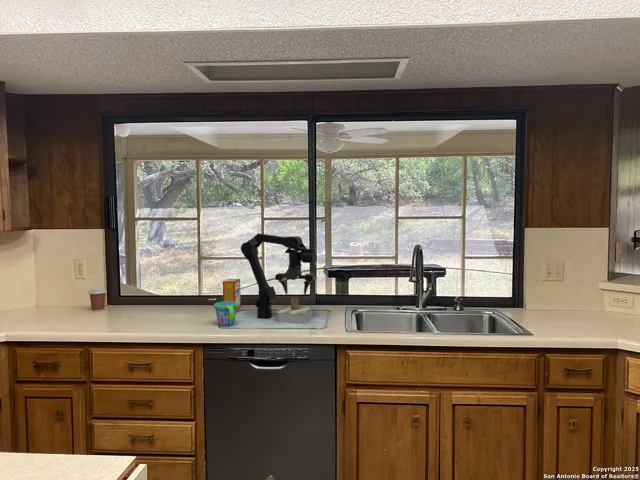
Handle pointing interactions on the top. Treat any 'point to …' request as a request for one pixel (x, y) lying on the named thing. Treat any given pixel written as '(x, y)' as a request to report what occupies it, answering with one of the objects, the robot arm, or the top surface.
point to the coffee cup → (97, 298)
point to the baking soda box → (232, 291)
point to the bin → (295, 318)
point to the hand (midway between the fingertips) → (295, 294)
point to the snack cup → (225, 312)
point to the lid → (294, 308)
